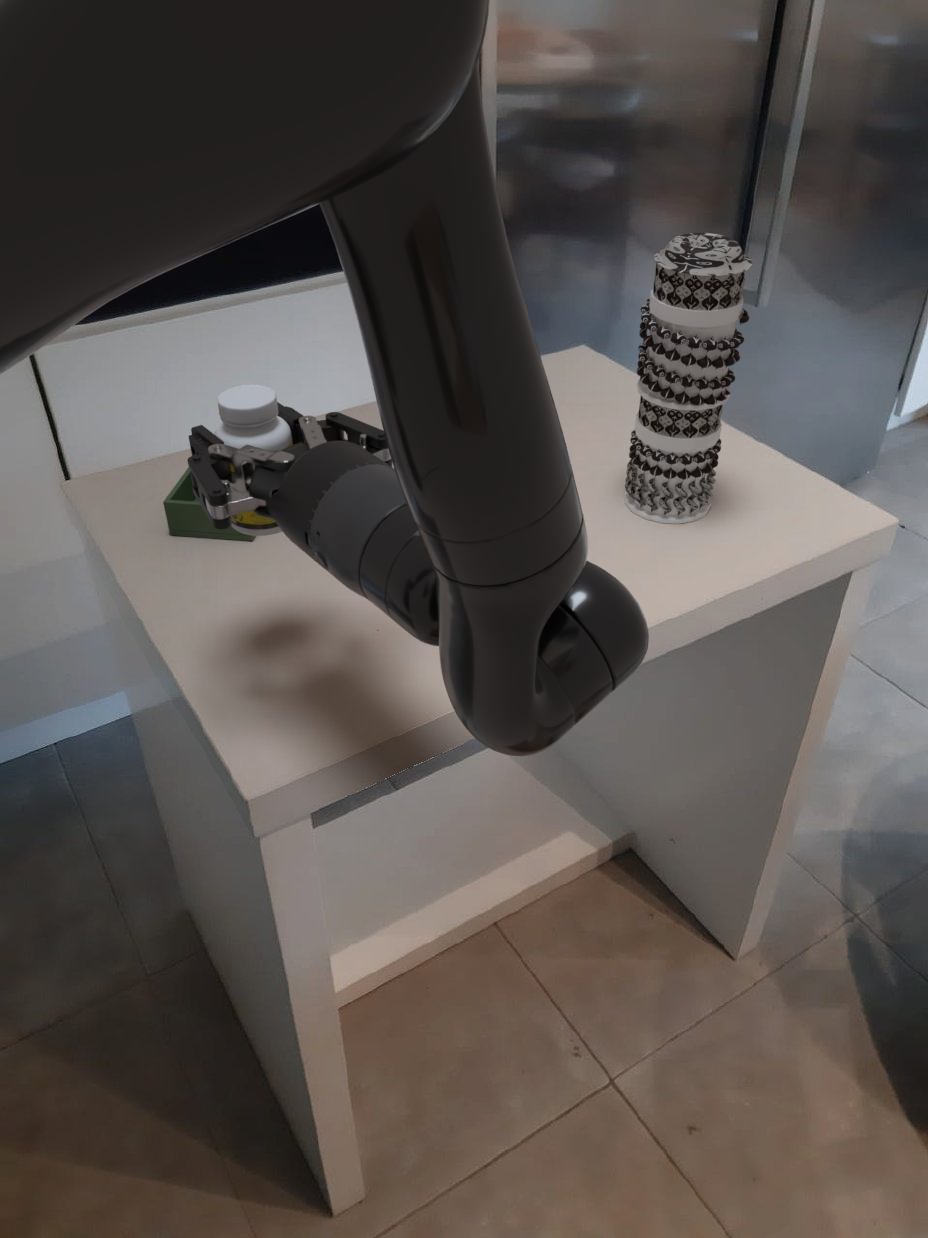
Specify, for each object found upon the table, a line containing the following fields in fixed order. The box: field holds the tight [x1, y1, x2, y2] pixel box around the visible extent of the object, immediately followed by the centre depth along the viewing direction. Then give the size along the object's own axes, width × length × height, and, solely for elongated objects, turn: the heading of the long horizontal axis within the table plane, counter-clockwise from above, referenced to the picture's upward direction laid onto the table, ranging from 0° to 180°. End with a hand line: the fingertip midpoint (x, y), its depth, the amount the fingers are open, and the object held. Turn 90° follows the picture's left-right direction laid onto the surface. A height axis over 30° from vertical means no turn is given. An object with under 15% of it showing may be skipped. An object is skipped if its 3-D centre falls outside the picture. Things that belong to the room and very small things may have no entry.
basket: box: [162, 466, 256, 542], centre depth 93 cm, size 8×8×4 cm
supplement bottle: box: [213, 384, 293, 537], centre depth 70 cm, size 5×5×10 cm
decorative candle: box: [624, 232, 753, 525], centre depth 89 cm, size 9×9×25 cm
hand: (236, 427), depth 70 cm, fingers closed on supplement bottle, 5 cm apart
